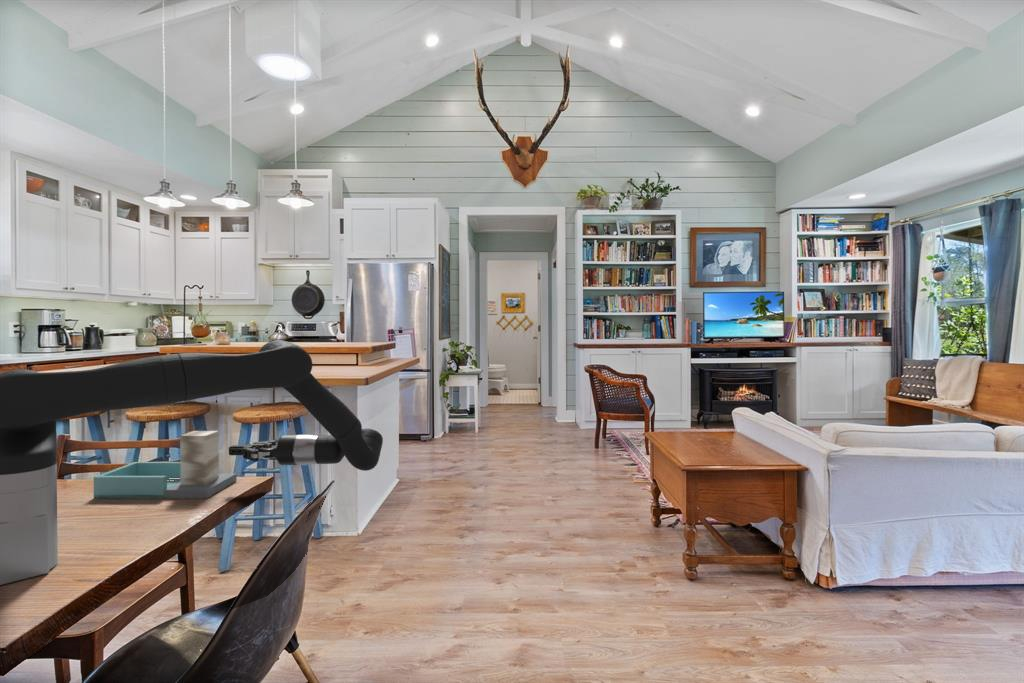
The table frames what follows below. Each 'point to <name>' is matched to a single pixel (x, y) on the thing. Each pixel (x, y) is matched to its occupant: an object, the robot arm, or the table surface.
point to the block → (199, 457)
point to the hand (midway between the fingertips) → (230, 450)
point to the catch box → (137, 480)
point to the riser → (201, 488)
